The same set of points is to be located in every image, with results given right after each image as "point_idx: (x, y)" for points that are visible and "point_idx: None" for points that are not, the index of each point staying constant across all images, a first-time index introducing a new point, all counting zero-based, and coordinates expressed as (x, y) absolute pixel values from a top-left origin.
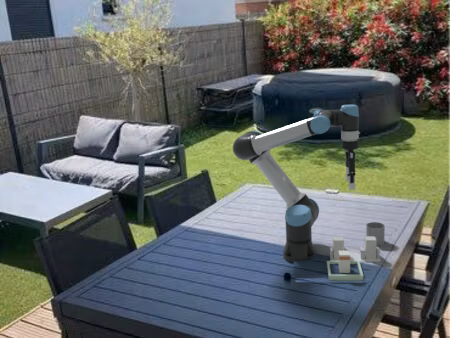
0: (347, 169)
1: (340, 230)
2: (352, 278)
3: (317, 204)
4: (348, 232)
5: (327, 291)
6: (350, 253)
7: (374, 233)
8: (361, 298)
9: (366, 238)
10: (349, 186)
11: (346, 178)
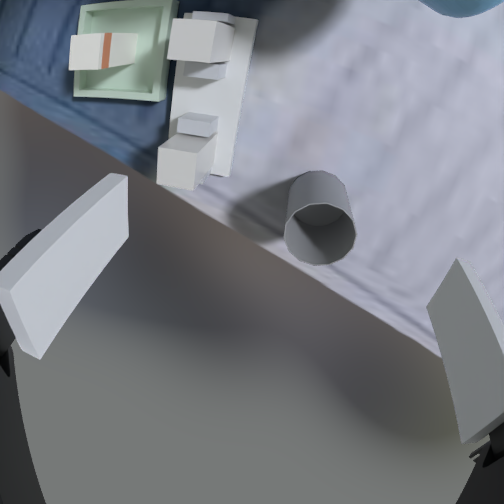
0: (498, 388)
1: (468, 143)
2: None
3: (471, 7)
4: (444, 160)
5: (49, 8)
6: (238, 89)
7: (288, 210)
8: (23, 81)
9: (176, 153)
10: (88, 198)
11: (466, 281)
